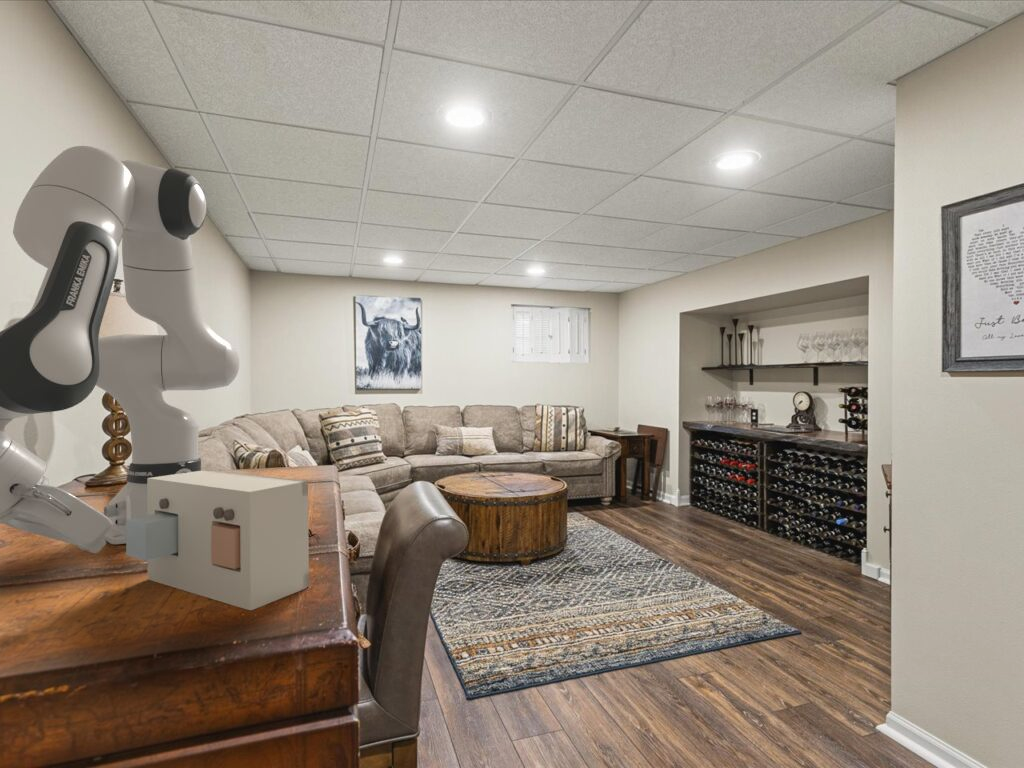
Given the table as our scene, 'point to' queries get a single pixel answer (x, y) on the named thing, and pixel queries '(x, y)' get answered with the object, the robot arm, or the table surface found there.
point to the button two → (225, 545)
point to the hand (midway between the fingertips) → (96, 546)
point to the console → (263, 535)
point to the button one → (152, 536)
